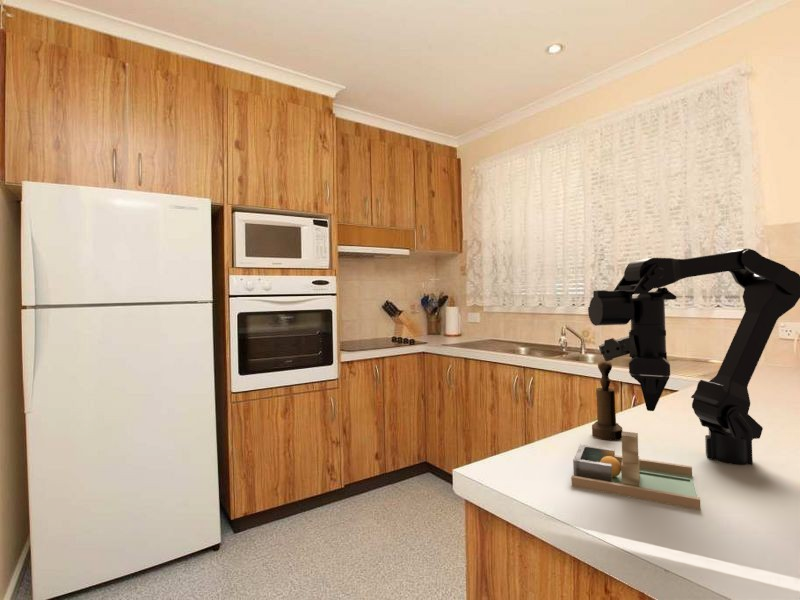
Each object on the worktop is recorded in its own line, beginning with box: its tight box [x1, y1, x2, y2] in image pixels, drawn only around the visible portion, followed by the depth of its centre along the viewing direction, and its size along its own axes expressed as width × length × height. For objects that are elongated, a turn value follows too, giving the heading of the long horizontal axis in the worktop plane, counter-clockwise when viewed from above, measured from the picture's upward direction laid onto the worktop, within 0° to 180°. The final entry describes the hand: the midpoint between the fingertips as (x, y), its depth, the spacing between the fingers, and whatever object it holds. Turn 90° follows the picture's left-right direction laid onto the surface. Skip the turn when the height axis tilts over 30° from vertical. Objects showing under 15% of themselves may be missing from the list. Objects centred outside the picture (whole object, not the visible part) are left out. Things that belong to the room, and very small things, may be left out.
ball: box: [600, 456, 621, 477], centre depth 75 cm, size 4×4×4 cm
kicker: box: [621, 430, 640, 486], centre depth 73 cm, size 3×6×8 cm, turn 149°
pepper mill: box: [591, 359, 623, 442], centre depth 99 cm, size 7×6×18 cm
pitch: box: [571, 454, 702, 511], centre depth 73 cm, size 18×14×2 cm
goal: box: [572, 443, 616, 482], centre depth 76 cm, size 6×9×4 cm, turn 149°
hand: (650, 404), depth 80 cm, fingers open, 9 cm apart
